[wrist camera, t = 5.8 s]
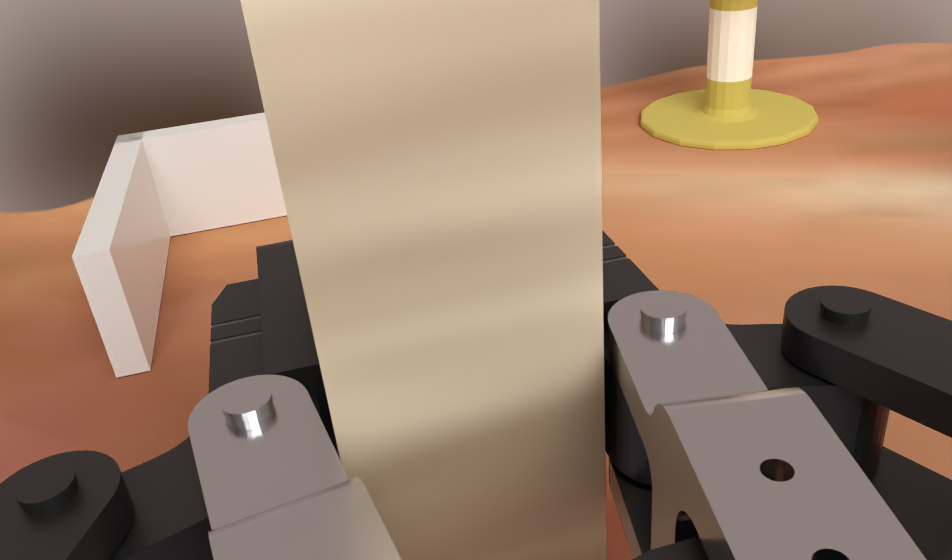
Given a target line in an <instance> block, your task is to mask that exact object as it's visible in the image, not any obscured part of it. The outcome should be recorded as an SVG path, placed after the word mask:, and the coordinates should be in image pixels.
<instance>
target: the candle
mask: <svg viewBox="0 0 952 560" xmlns="http://www.w3.org/2000/svg"><path fill="white" fill-rule="evenodd" d="M757 2H758V0H710V14H709V34H708V54H707V74H706V89H701V90H694V91H688V92H681V93H676V94H673V95H670V96H667V97H664V98H661V99H658V100H655V101H653V102H652V103H651V104H649V105H648V106H647V107H646V108H644V109H643V110H642V111H641V126H640V127H642V128H643V129H644V130H645V131H647V132H648V133H649V134H650V135H652V136H653V137H655V138H658V139H661V140H664V141H667V142H671V143H674V144H677V145H681V146H689V147H697V148H705V149H713V150H726V149H756V148H762V147H768V146H774V145H780V144H786V143H788V142H791V141H793V140H796V139H798V138H801V137H803V136H806V135H808V134H810V133H811V131H812V130H813V129H814V127H815V126H816V125H817V123H818V120H819V119H818V116H817V114H816V112H815V110H814V109H813V107H812V106H811V105H809V104H807V103H805V102H803V101H801V100H799V99H797V98H795V97H793V96H789V95H784V94H780V93H776V92H771V91H767V90H756V89H751V82H752V69H753V55H754V42H755V29H756V16H757Z"/></svg>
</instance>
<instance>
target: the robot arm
mask: <svg viewBox="0 0 952 560" xmlns="http://www.w3.org/2000/svg"><path fill="white" fill-rule="evenodd" d="M256 250H257V265H258V279H254V280H249V281H244V282H239V283H234V284H229V285H227V286H226V287H225V288H224V289H223V291H222V292H221V293H220V295H219V296H218V297H217V299H216V300H215V301H214V303H213V304H212V317H211V325H212V328H211V345H210V371H209V394H208V395H207V396H205V397H204V398H203V399H202V400H201V401H200V402H199V403H198V404H197V405H196V406H195V408H194V409H193V410H192V412H191V414H190V416H189V420H188V432H189V437H188V438H187V439H186V440H184V441H183V442H182V443H180V444H179V445H178V446H176V447H175V448H173V449H171V450H170V451H168V452H166V453H164V454H162V455H160V456H158V457H156V458H154V459H152V460H150V461H147V462H145V463H143V464H141V465H138V466H136V467H134V468H131V469H129V470H127V471H125V472H122V473H121V471H120V468H119V466H118V464H117V462H116V461H115V460H114V459H112V458H111V457H110V456H108V455H106V454H103V453H100V452H96V451H72V452H65V453H61V454H57V455H53V456H50V457H47V458H44V459H41V460H39V461H37V462H34V463H32V464H30V465H28V466H26V467H24V468H23V469H21V470H19V471H17V472H16V473H14V474H13V475H11V476H10V477H8V478H7V479H6V480H5V481H3V482H2V483H1V484H0V560H401V557H400V555H399V553H398V551H397V549H396V547H395V545H394V543H393V541H392V539H391V537H390V535H389V533H388V531H387V529H386V527H385V525H384V523H383V521H382V519H381V517H380V515H379V513H378V511H377V509H376V507H375V505H374V503H373V501H372V499H371V497H370V495H369V493H368V491H367V489H366V487H365V485H364V483H363V482H362V480H361V479H360V478H359V477H355V478H353V479H350V480H349V477H348V475H347V473H346V471H345V469H344V467H343V465H342V463H341V460H340V456H339V451H338V447H337V442H336V437H335V433H334V428H333V424H332V419H331V414H330V410H329V405H328V401H327V396H326V391H325V387H324V382H323V378H322V373H321V368H320V364H319V359H318V355H317V350H316V345H315V341H314V336H313V332H312V327H311V322H310V318H309V313H308V309H307V304H306V299H305V295H304V290H303V286H302V281H301V276H300V272H299V267H298V263H297V258H296V253H295V249H294V244H293V240H290V241H285V242H280V243H274V244H269V245H264V246H258V247H257V248H256ZM602 250H603V324H604V399H605V451H606V452H607V454H608V456H609V483H610V488H611V491H612V494H613V497H614V500H615V504H616V507H617V510H618V513H619V516H620V519H621V522H622V525H623V528H624V531H625V534H626V537H627V541H628V544H629V547H630V550H631V553H632V556H633V559H632V560H952V480H950V479H948V478H946V477H944V476H942V475H940V474H938V473H936V472H934V471H932V470H930V469H928V468H926V467H924V466H922V465H920V464H918V463H916V462H914V461H912V460H910V459H908V458H906V457H904V456H902V455H900V454H897V453H895V452H893V451H891V450H889V449H887V448H885V447H883V441H884V436H885V431H886V426H887V421H888V416H889V411H890V410H892V411H894V412H897V413H899V414H901V415H903V416H905V417H908V418H910V419H912V420H914V421H916V422H918V423H921V424H923V425H925V426H927V427H929V428H932V429H934V430H936V431H938V432H940V433H943V434H945V435H947V436H949V437H951V438H952V321H951V320H948V319H945V318H942V317H939V316H937V315H934V314H931V313H928V312H926V311H923V310H920V309H917V308H915V307H912V306H909V305H906V304H903V303H901V302H898V301H895V300H892V299H890V298H887V297H884V296H881V295H878V294H876V293H873V292H870V291H866V290H862V289H858V288H853V287H846V286H819V287H813V288H808V289H805V290H802V291H800V292H798V293H796V294H794V295H793V296H791V297H790V298H789V299H788V301H787V302H786V305H785V310H784V319H783V324H755V325H730V324H724V322H723V320H722V319H721V317H720V316H719V314H718V313H717V311H716V310H715V309H714V308H713V307H712V306H711V305H710V304H708V303H707V302H705V301H704V300H702V299H700V298H698V297H695V296H693V295H689V294H686V293H681V292H676V291H663V290H659V289H658V288H657V287H656V286H655V285H654V284H653V283H652V282H651V281H650V280H649V279H648V278H647V277H646V276H645V275H644V274H643V273H642V272H641V270H640V269H639V268H638V267H637V266H636V265H635V264H634V263H633V262H632V261H631V260H630V259H627V258H626V255H625V254H624V253H623V251H622V250H621V249H620V248H619V247H618V246H615V243H614V242H613V241H612V240H611V239H610V238H609V237H608V236H607V235H606V234H605V232H604V231H603V230H602Z"/></svg>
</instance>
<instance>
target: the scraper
mask: <svg viewBox="0 0 952 560" xmlns="http://www.w3.org/2000/svg"><path fill="white" fill-rule="evenodd" d="M241 4H242V9H243V14H244V18H245V23H246V28H247V32H248V36H249V42H250V46H251V51H252V56H253V60H254V64H255V69H256V74H257V78H258V83H259V88H260V92H261V97H262V102H263V106H264V111H265V115H266V120H267V125H268V129H269V134H270V138H271V143H272V148H273V152H274V157H275V161H276V166H277V171H278V175H279V180H280V184H281V189H282V194H283V198H284V203H285V207H286V212H287V217H288V221H289V226H290V230H291V235H292V240H293V244H294V249H295V253H296V258H297V263H298V267H299V272H300V276H301V281H302V286H303V290H304V295H305V299H306V304H307V309H308V313H309V318H310V322H311V327H312V332H313V336H314V341H315V345H316V350H317V355H318V359H319V364H320V368H321V373H322V378H323V382H324V387H325V391H326V396H327V401H328V405H329V410H330V414H331V419H332V424H333V428H334V433H335V437H336V442H337V447H338V451H339V456H340V460H341V463H342V465H343V467H344V469H345V471H346V473H347V475H348V477H349V480H350V479H353V478H355V477H359V478H360V479H361V480H362V482H363V483H364V485H365V487H366V489H367V491H368V493H369V495H370V497H371V499H372V501H373V503H374V505H375V507H376V509H377V511H378V513H379V515H380V517H381V519H382V521H383V523H384V525H385V527H386V529H387V531H388V533H389V535H390V537H391V539H392V541H393V543H394V545H395V547H396V549H397V551H398V553H399V555H400V557H401V560H607V548H606V473H605V399H604V324H603V250H602V175H601V101H600V32H599V31H600V26H599V0H241Z"/></svg>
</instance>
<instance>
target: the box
mask: <svg viewBox="0 0 952 560" xmlns="http://www.w3.org/2000/svg"><path fill="white" fill-rule="evenodd" d="M286 215H287V212H286V207H285V203H284V198H283V194H282V189H281V184H280V180H279V175H278V171H277V166H276V161H275V157H274V152H273V148H272V143H271V138H270V134H269V129H268V125H267V120H266V115H265V113H259V114H253V115H246V116H240V117H234V118H227V119H221V120H215V121H210V122H209V121H208V122H202V123H196V124H190V125H184V126H177V127H171V128H165V129H158V130H152V131H146V132H139V133H133V134H127V135H120V136H118V137H117V139H116V142H115V145H114V147H113V150H112V152H111V155H110V158H109V160H108V163H107V166H106V168H105V171H104V173H103V176H102V179H101V181H100V184H99V187H98V189H97V192H96V195H95V197H94V200H93V202H92V205H91V208H90V210H89V213H88V215H87V218H86V221H85V223H84V226H83V229H82V231H81V234H80V237H79V239H78V242H77V244H76V247H75V250H74V252H73V255H72V258H73V261H74V264H75V266H76V269H77V272H78V275H79V277H80V280H81V283H82V286H83V288H84V291H85V294H86V296H87V299H88V302H89V305H90V307H91V310H92V313H93V316H94V318H95V321H96V324H97V326H98V329H99V332H100V335H101V337H102V340H103V343H104V345H105V348H106V351H107V354H108V356H109V359H110V362H111V365H112V367H113V370H114V373H115V375H116V378H117V377H122V376H127V375H132V374H136V373H141V372H146V371H150V370H151V363H152V356H153V350H154V343H155V337H156V330H157V323H158V317H159V310H160V303H161V297H162V290H163V283H164V277H165V270H166V264H167V257H168V250H169V244H170V237H171V236H176V235H182V234H187V233H193V232H198V231H204V230H209V229H215V228H220V227H226V226H231V225H237V224H242V223H248V222H253V221H259V220H264V219H270V218H275V217H281V216H286Z"/></svg>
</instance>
